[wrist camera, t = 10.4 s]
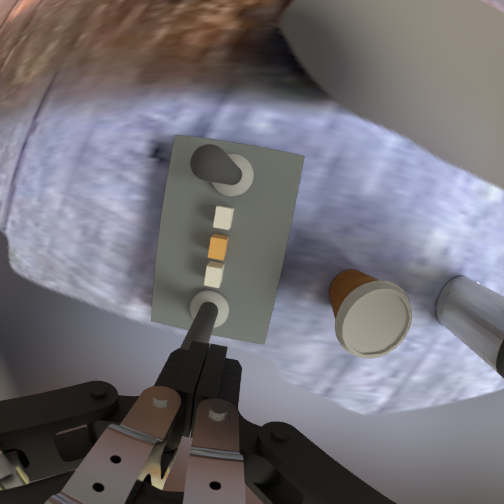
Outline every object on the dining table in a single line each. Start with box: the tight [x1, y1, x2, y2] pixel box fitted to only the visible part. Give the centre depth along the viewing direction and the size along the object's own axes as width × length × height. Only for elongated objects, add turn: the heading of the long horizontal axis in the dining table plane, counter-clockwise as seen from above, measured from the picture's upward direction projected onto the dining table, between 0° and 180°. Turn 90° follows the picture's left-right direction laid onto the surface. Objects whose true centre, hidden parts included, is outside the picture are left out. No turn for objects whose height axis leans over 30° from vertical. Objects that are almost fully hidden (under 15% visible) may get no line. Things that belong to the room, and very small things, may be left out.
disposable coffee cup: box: [329, 270, 412, 358], centre depth 36 cm, size 10×10×12 cm
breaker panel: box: [151, 135, 304, 345], centre depth 37 cm, size 16×25×7 cm, turn 169°
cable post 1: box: [190, 144, 254, 196], centre depth 26 cm, size 5×5×17 cm
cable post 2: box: [180, 289, 229, 350], centre depth 30 cm, size 5×5×17 cm
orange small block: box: [208, 234, 229, 260], centre depth 35 cm, size 2×2×3 cm
